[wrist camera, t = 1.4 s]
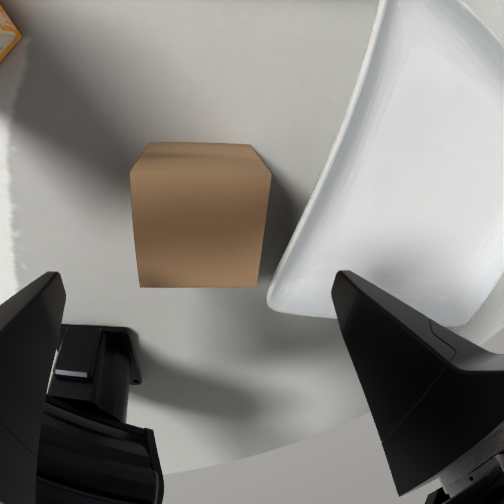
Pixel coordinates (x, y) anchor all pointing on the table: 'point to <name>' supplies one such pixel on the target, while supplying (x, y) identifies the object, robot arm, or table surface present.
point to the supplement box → (7, 34)
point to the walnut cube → (199, 214)
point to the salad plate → (410, 172)
